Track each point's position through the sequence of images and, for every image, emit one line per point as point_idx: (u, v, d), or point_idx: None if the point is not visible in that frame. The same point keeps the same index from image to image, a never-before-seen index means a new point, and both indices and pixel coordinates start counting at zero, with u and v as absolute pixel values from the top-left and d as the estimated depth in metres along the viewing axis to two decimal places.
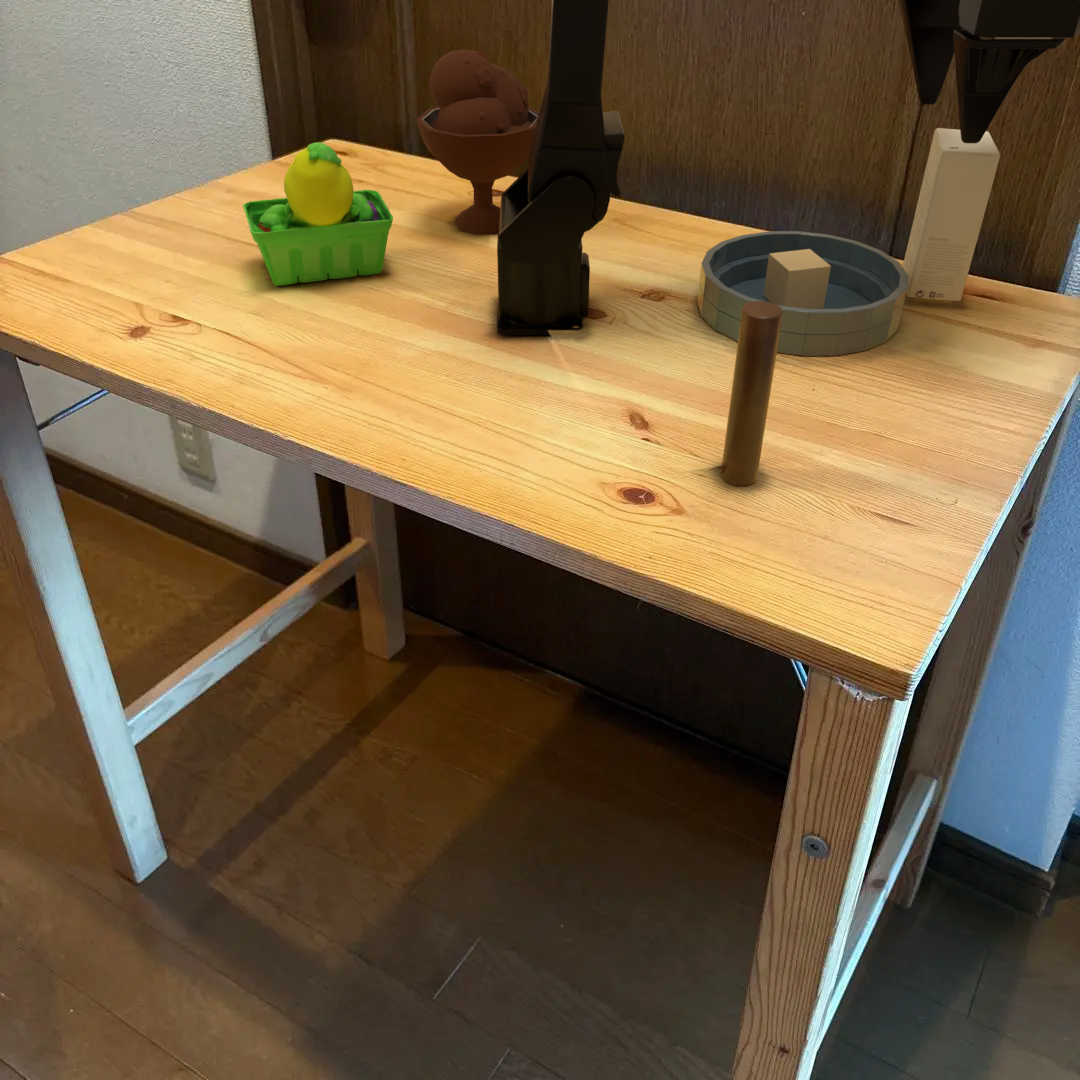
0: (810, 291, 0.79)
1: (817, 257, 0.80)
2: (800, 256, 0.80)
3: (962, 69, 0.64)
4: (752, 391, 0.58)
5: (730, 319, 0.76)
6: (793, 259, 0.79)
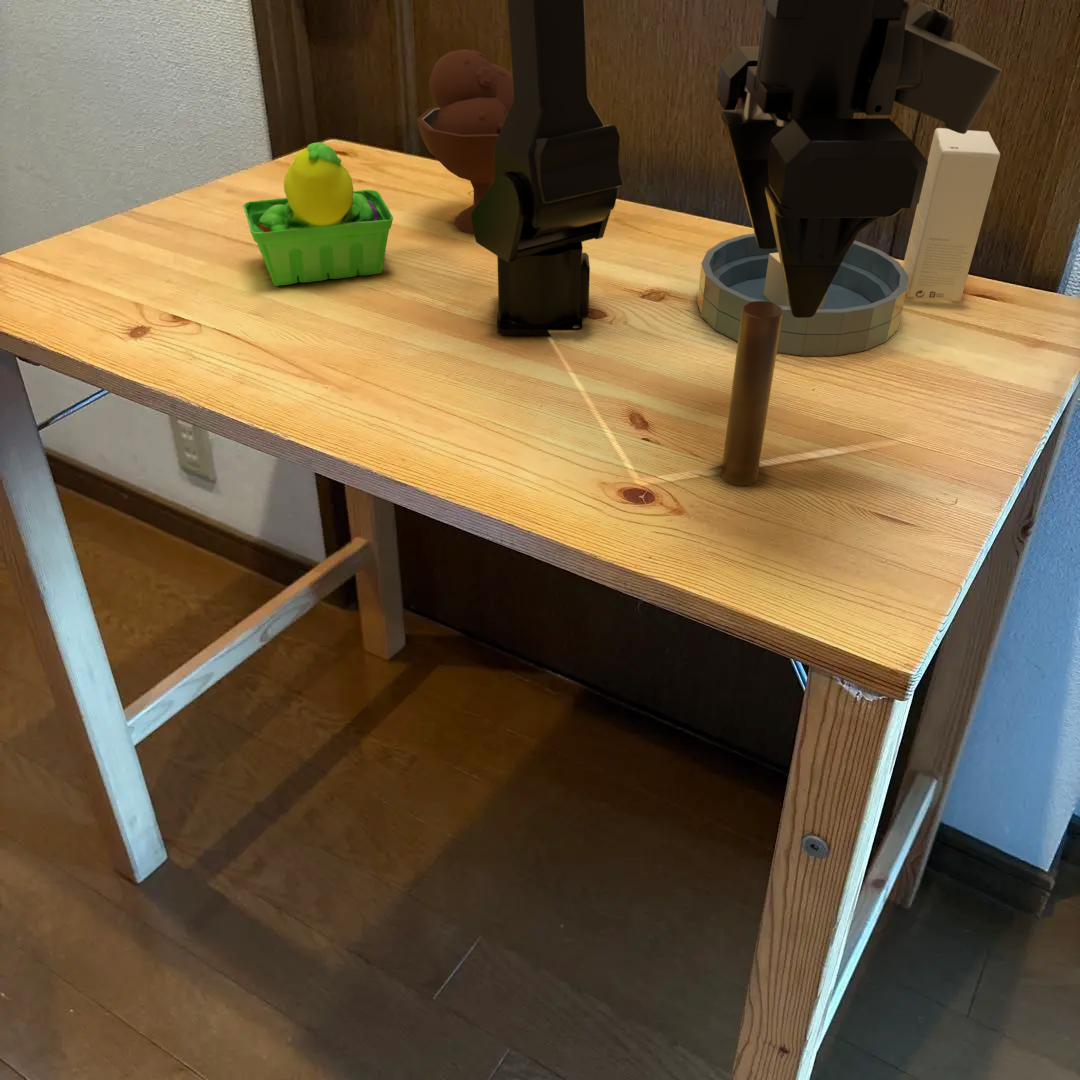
0: None
1: None
2: None
3: (778, 237, 0.49)
4: (752, 391, 0.58)
5: (730, 319, 0.76)
6: None
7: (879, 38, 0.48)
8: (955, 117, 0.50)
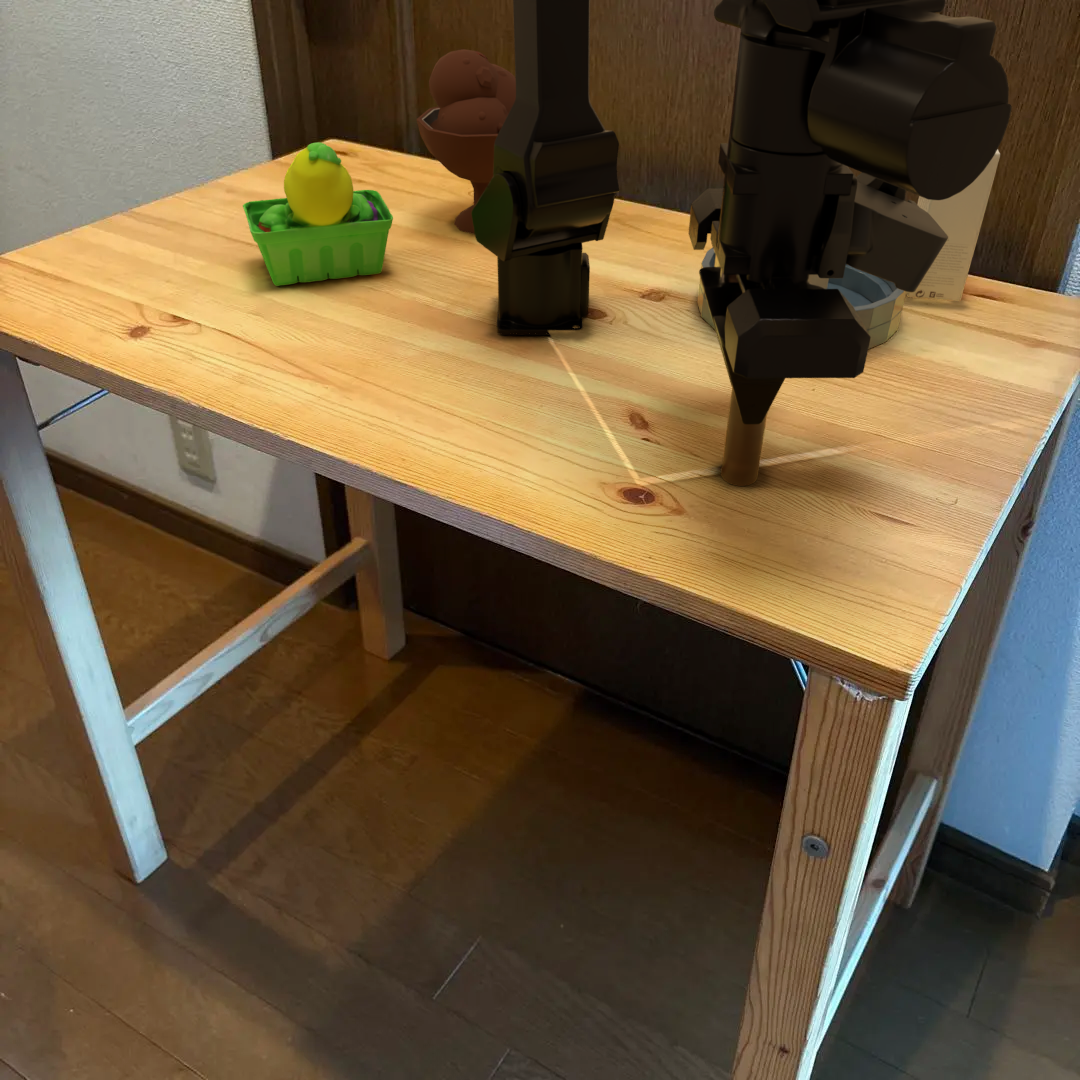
0: None
1: None
2: None
3: (725, 360, 0.55)
4: None
5: None
6: None
7: (831, 209, 0.52)
8: (904, 279, 0.53)
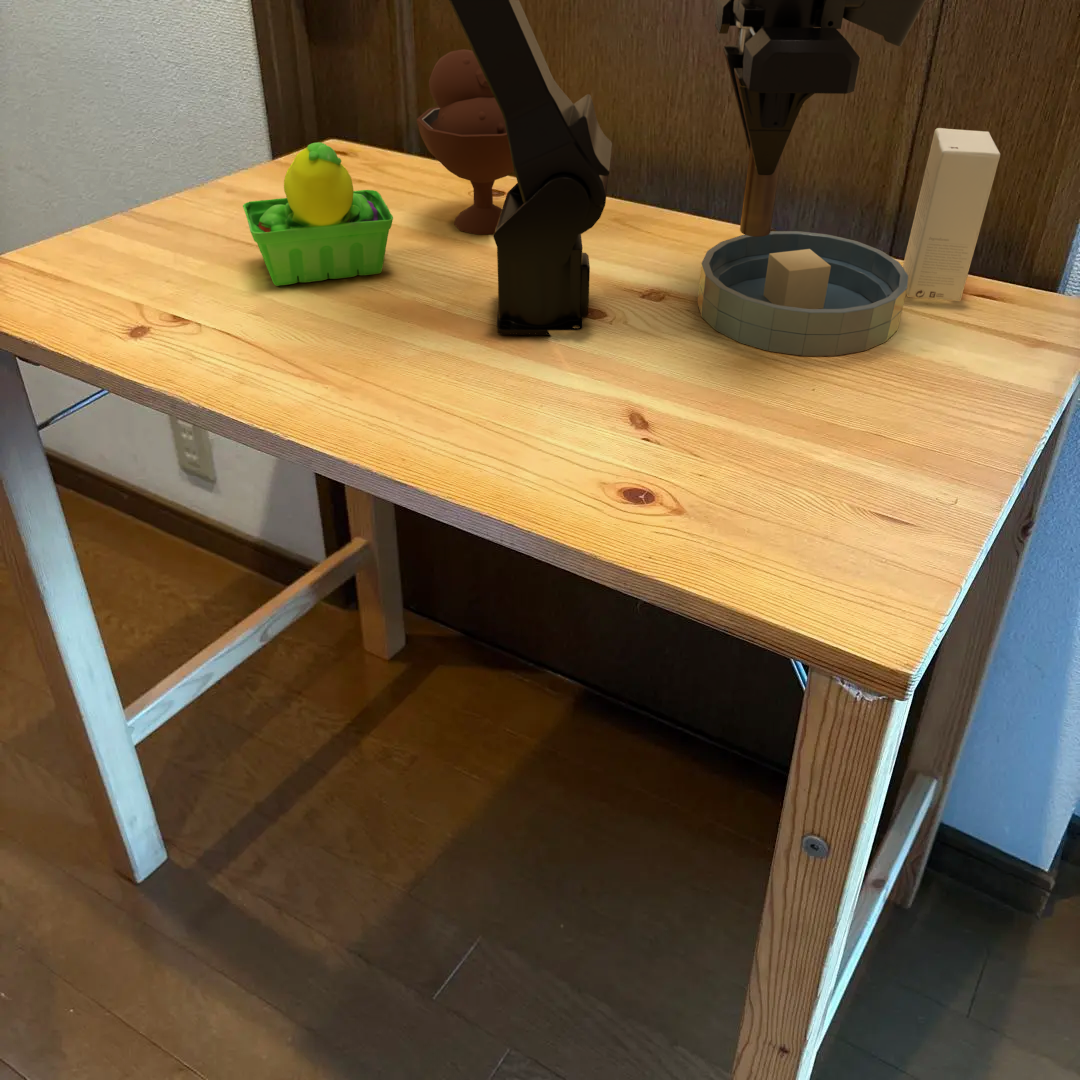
0: (810, 291, 0.79)
1: (817, 257, 0.80)
2: (800, 256, 0.80)
3: (743, 106, 0.67)
4: None
5: (730, 319, 0.76)
6: (793, 259, 0.79)
7: None
8: (891, 32, 0.65)
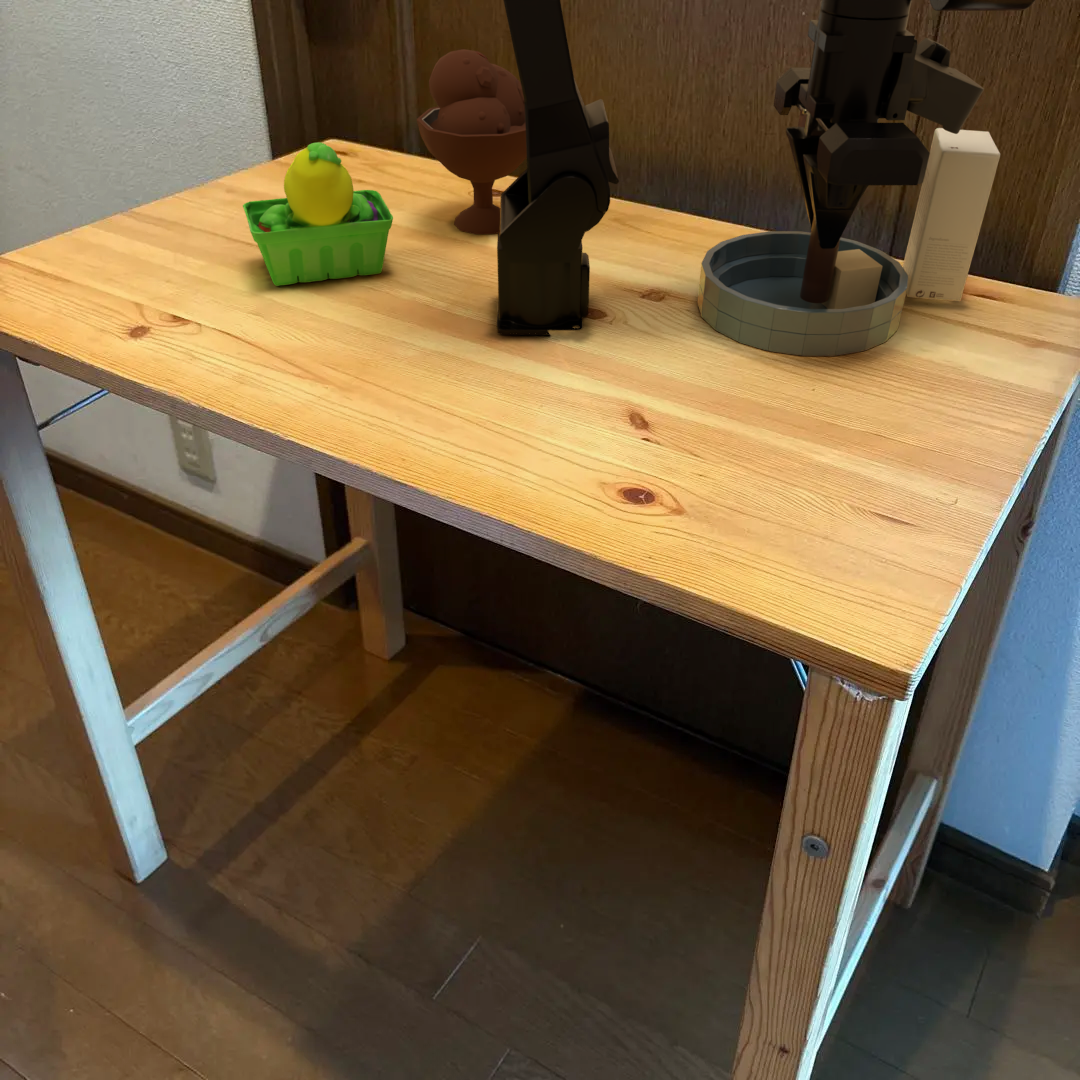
0: (861, 291, 0.79)
1: (868, 257, 0.80)
2: (850, 256, 0.80)
3: (812, 189, 0.72)
4: None
5: (730, 319, 0.76)
6: (844, 259, 0.79)
7: (896, 65, 0.68)
8: (950, 122, 0.70)
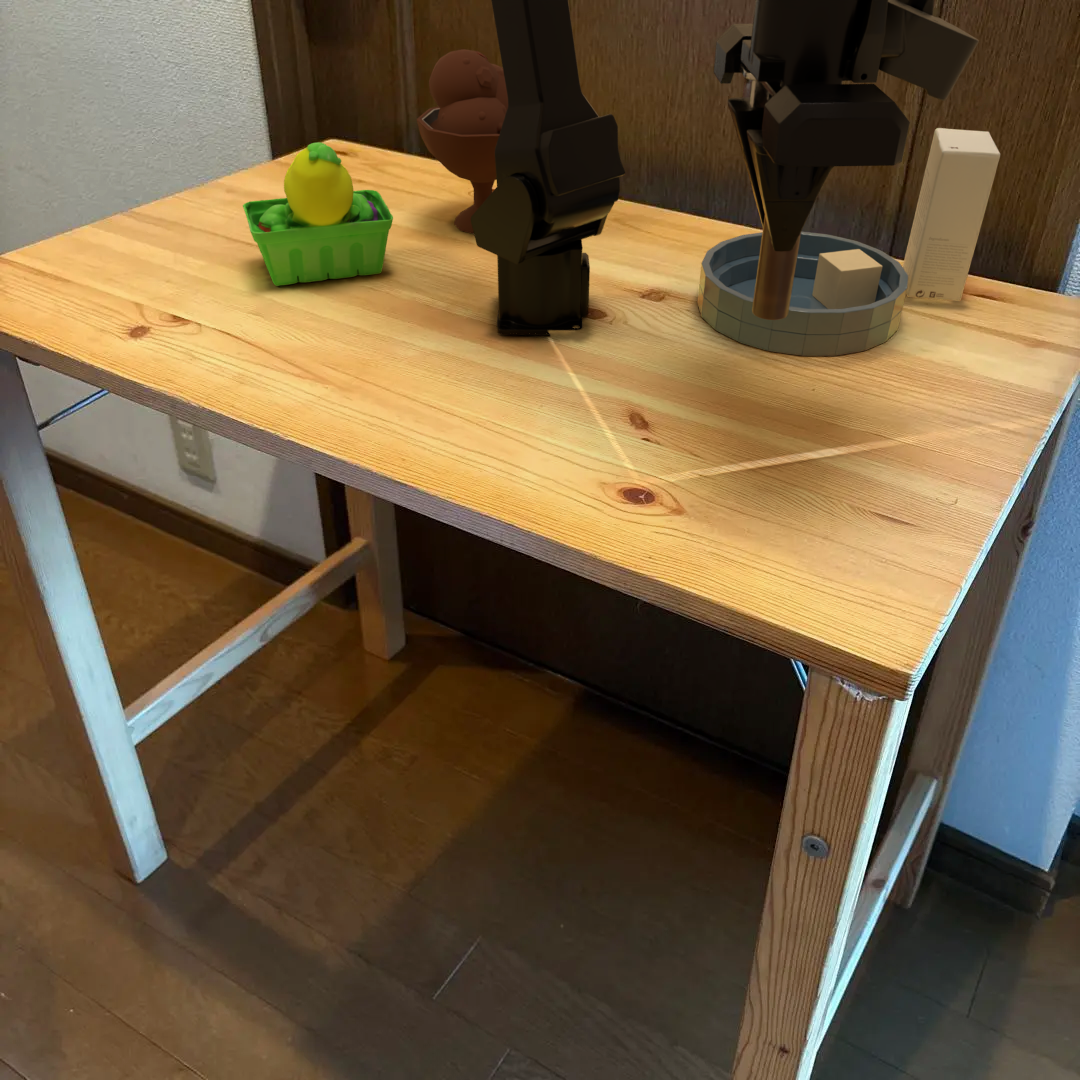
0: (861, 291, 0.79)
1: (868, 257, 0.80)
2: (850, 256, 0.80)
3: (759, 174, 0.56)
4: None
5: (730, 319, 0.76)
6: (844, 259, 0.79)
7: (864, 10, 0.52)
8: (936, 84, 0.54)
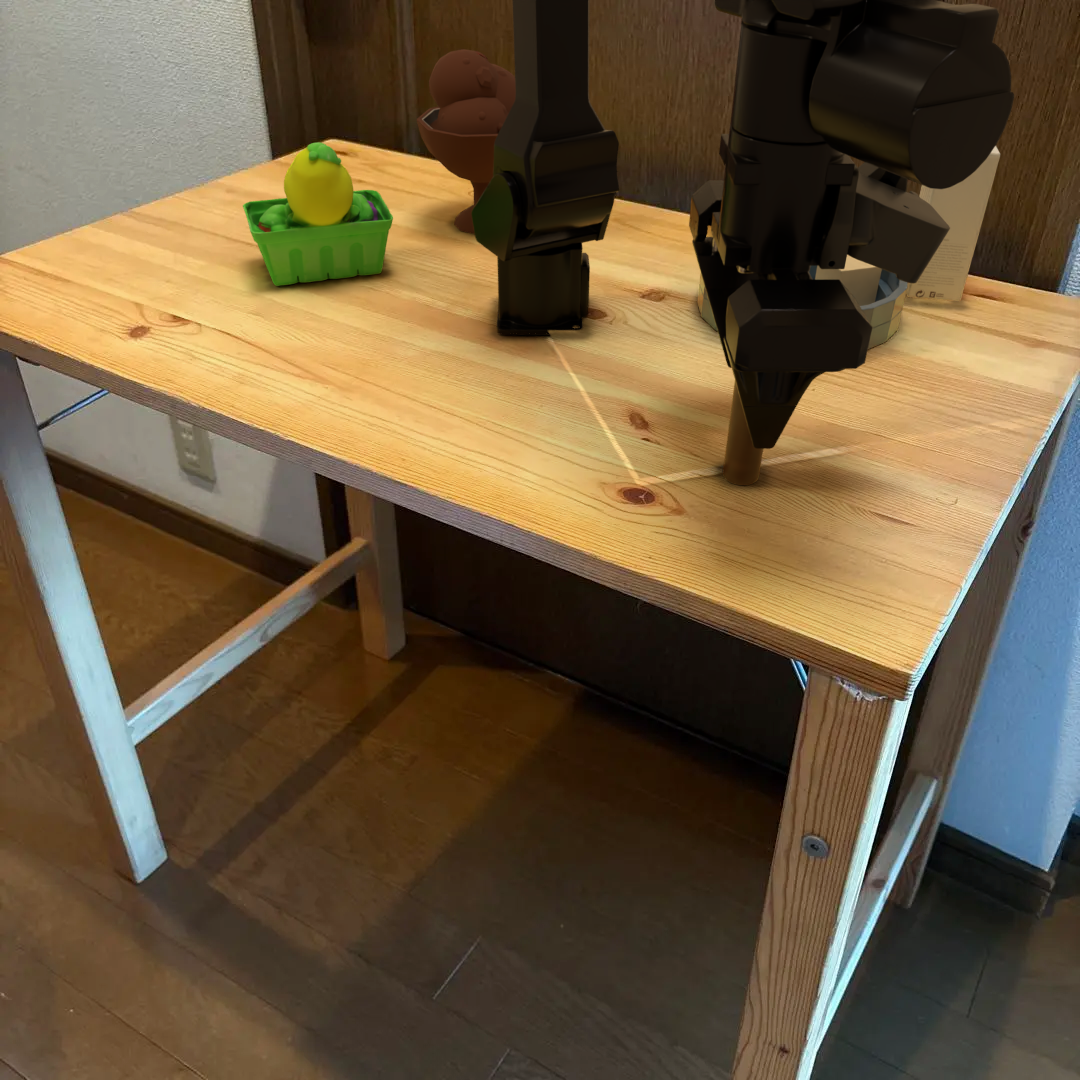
0: (861, 291, 0.79)
1: None
2: None
3: (736, 383, 0.52)
4: None
5: None
6: None
7: (832, 199, 0.51)
8: (906, 270, 0.53)
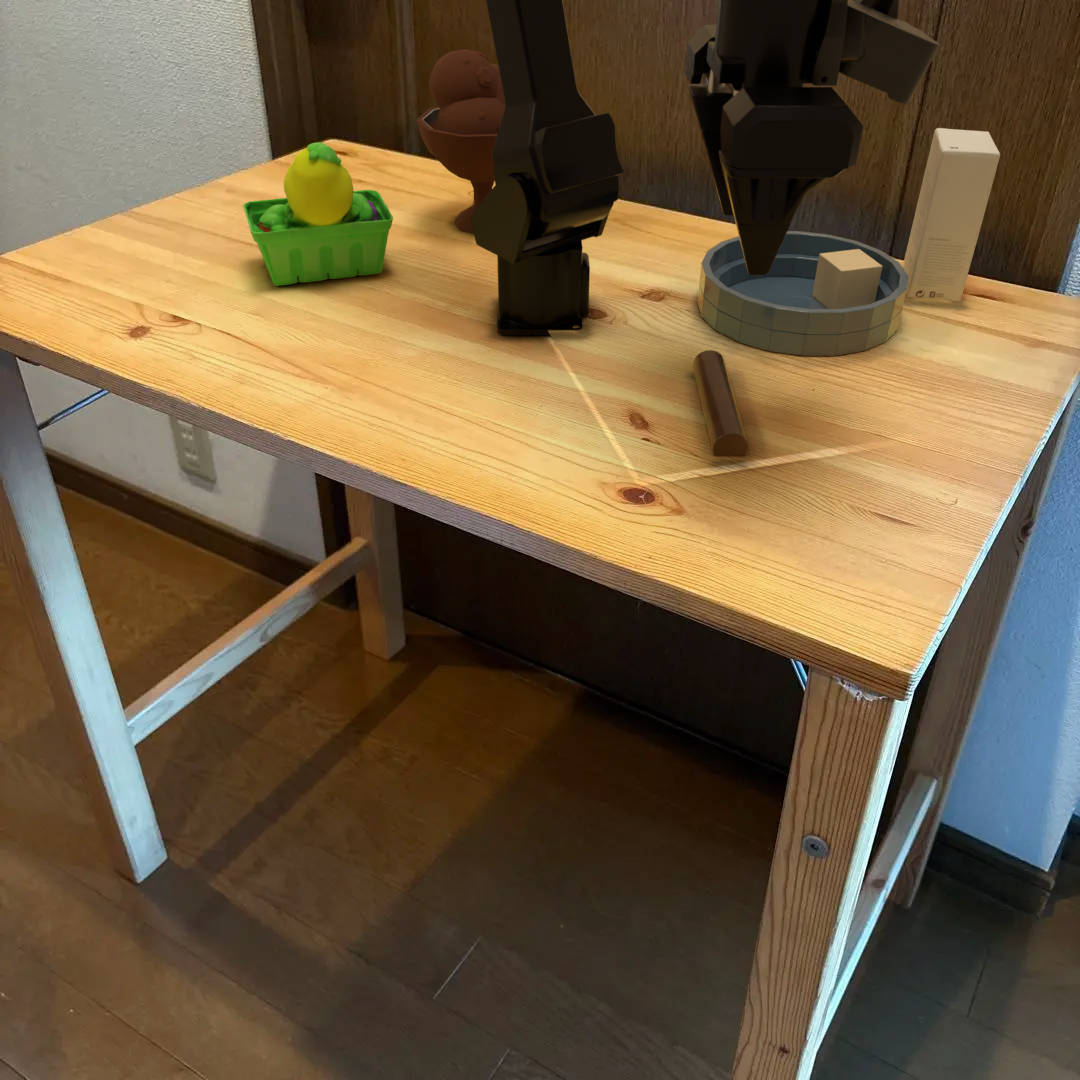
0: (861, 291, 0.79)
1: (868, 257, 0.80)
2: (850, 256, 0.80)
3: (731, 197, 0.53)
4: (708, 384, 0.68)
5: (730, 319, 0.76)
6: (844, 259, 0.79)
7: (825, 14, 0.52)
8: (896, 88, 0.54)
